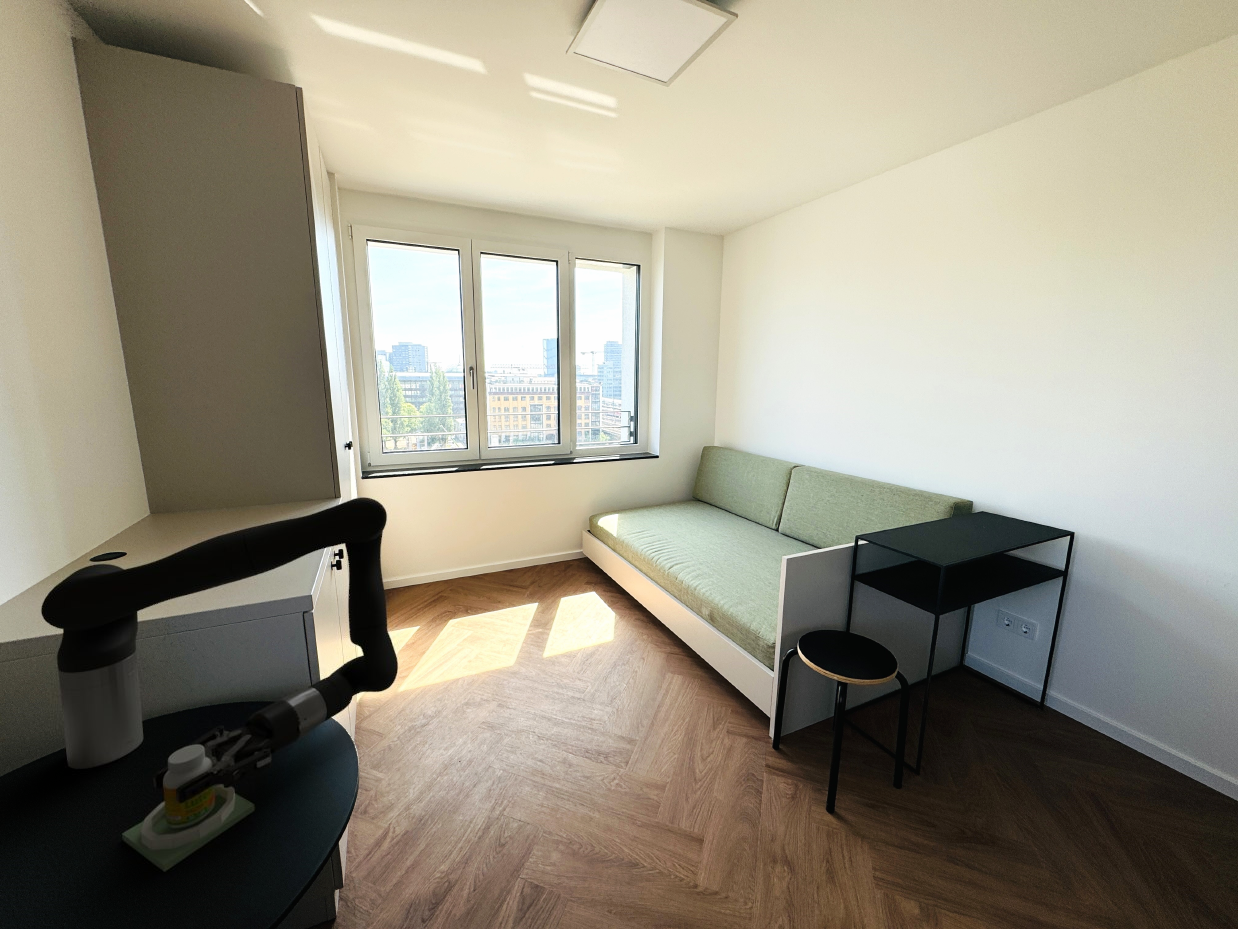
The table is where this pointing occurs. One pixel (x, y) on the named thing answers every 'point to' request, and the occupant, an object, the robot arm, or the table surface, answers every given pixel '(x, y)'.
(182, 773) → the supplement bottle
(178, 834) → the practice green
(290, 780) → the table surface
